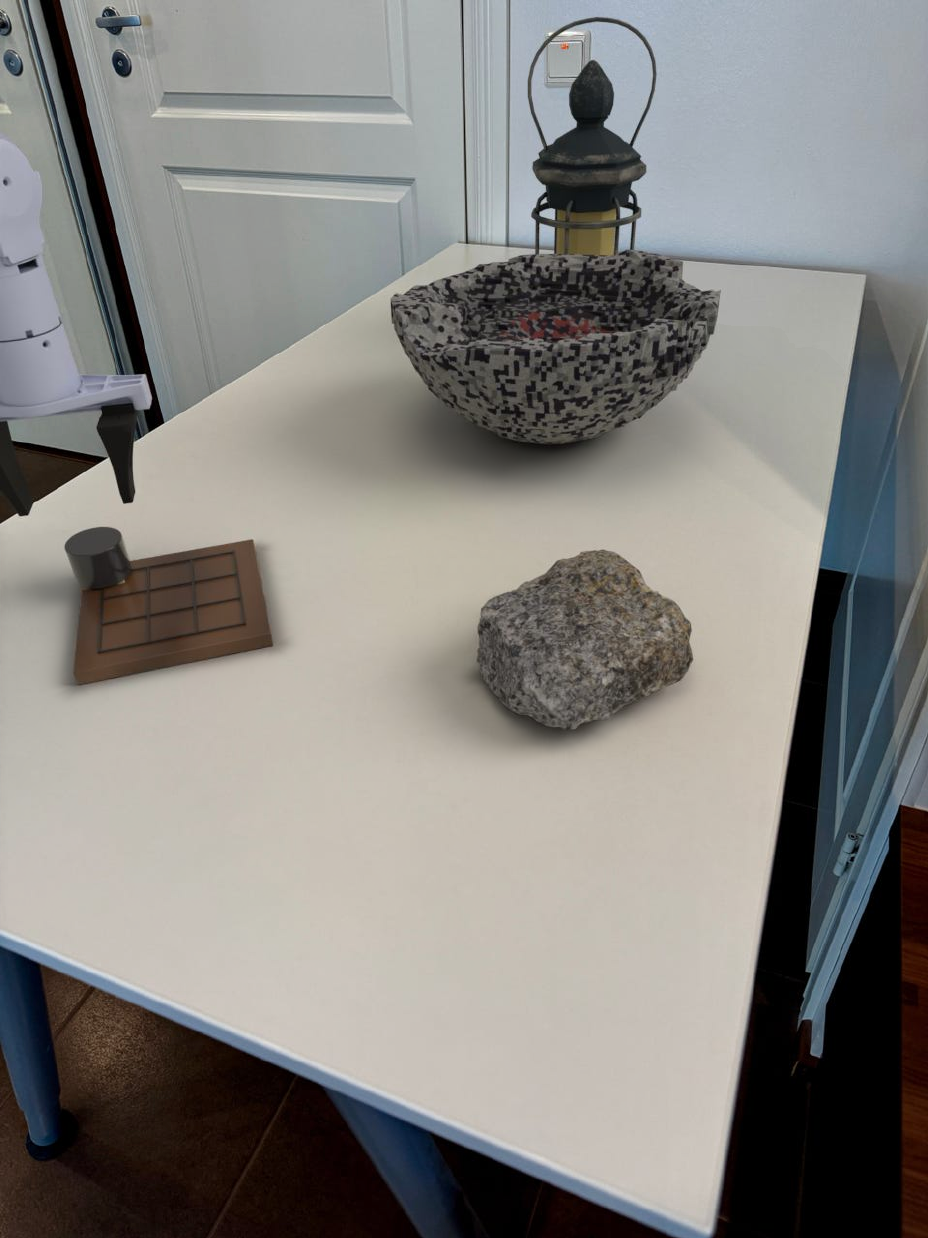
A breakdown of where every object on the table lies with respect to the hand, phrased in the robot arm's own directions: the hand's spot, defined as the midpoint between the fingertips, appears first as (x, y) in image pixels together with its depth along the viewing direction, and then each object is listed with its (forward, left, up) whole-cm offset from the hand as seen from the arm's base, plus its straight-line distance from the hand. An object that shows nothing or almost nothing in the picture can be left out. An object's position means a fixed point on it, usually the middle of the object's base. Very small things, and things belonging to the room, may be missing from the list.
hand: (78, 503), depth 68 cm
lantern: (+58, +39, -8) cm, 70 cm away
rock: (+33, -22, -8) cm, 41 cm away
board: (+5, -5, -8) cm, 11 cm away
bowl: (+45, +16, -8) cm, 49 cm away
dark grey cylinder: (0, 0, -7) cm, 7 cm away
